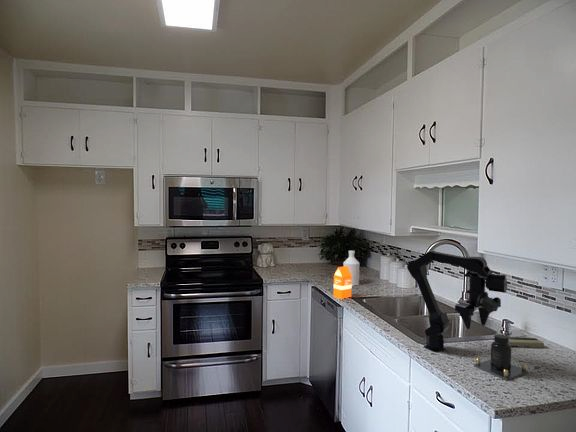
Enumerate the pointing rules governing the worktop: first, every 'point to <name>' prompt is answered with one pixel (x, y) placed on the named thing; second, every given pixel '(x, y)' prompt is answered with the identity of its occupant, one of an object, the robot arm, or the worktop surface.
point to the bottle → (353, 267)
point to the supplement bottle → (501, 353)
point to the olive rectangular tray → (525, 342)
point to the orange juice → (342, 283)
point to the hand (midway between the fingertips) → (475, 327)
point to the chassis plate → (504, 374)
